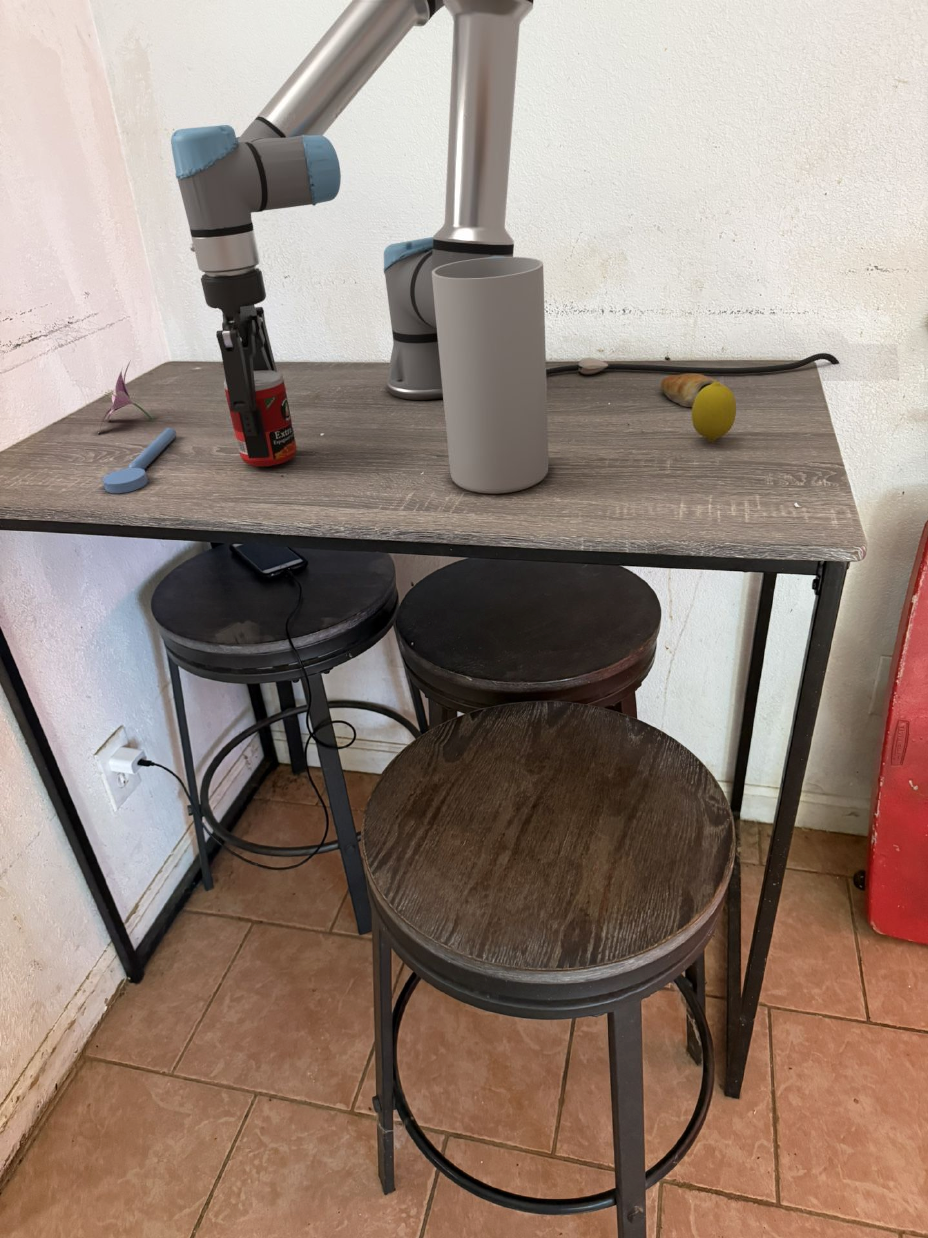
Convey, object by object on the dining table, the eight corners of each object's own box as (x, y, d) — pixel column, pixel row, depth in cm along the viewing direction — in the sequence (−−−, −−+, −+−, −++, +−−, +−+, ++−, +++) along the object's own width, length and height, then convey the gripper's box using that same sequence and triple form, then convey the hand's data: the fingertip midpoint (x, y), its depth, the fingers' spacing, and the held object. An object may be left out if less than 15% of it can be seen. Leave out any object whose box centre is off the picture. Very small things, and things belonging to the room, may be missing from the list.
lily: (136, 413, 146) (92, 370, 140) (182, 388, 140) (138, 342, 134) (108, 458, 138) (60, 415, 132) (156, 434, 133) (108, 387, 127)
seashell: (578, 370, 144) (578, 355, 142) (608, 368, 143) (608, 353, 142) (578, 377, 140) (578, 362, 139) (608, 376, 139) (608, 361, 138)
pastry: (648, 394, 130) (649, 369, 128) (682, 385, 132) (684, 361, 130) (689, 409, 123) (691, 383, 121) (725, 400, 125) (727, 374, 123)
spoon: (156, 437, 131) (153, 426, 130) (191, 436, 130) (188, 424, 129) (98, 494, 113) (94, 482, 112) (138, 492, 112) (134, 479, 111)
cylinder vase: (518, 502, 100) (508, 280, 87) (432, 486, 106) (409, 277, 93) (565, 464, 109) (562, 257, 96) (482, 452, 115) (469, 255, 102)
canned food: (286, 467, 113) (269, 386, 108) (231, 467, 115) (212, 387, 109) (306, 446, 120) (291, 369, 114) (254, 446, 121) (237, 370, 115)
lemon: (734, 435, 113) (740, 375, 109) (731, 450, 109) (737, 389, 104) (692, 433, 115) (696, 374, 111) (687, 448, 110) (691, 387, 106)
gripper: (224, 257, 113) (259, 421, 125) (172, 289, 96) (218, 475, 108) (279, 253, 113) (308, 418, 125) (236, 284, 95) (275, 472, 108)
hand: (267, 445), depth 116 cm, fingers closed on canned food, 8 cm apart
